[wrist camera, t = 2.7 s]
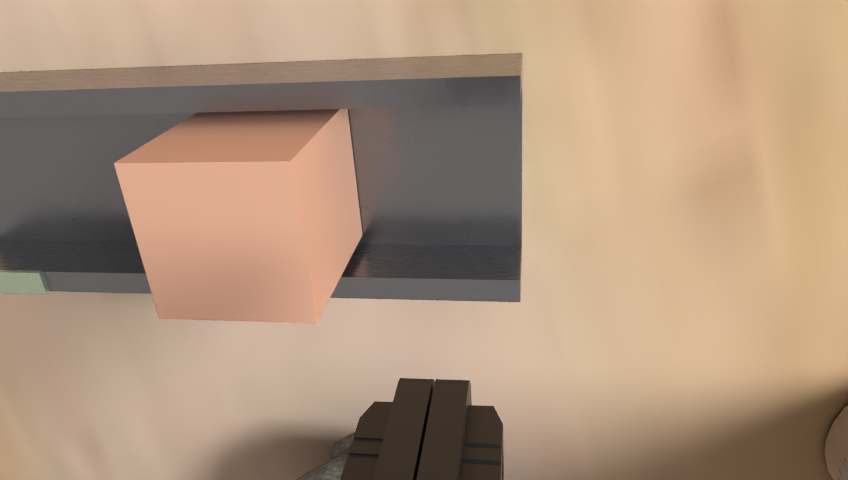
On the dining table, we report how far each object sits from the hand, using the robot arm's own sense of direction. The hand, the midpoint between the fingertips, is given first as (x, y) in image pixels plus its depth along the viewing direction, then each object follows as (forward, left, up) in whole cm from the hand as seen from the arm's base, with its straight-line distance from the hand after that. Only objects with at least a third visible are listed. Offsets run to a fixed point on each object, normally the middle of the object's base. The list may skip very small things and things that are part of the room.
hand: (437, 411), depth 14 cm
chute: (+11, 0, -16) cm, 19 cm away
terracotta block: (+8, 0, -15) cm, 17 cm away
